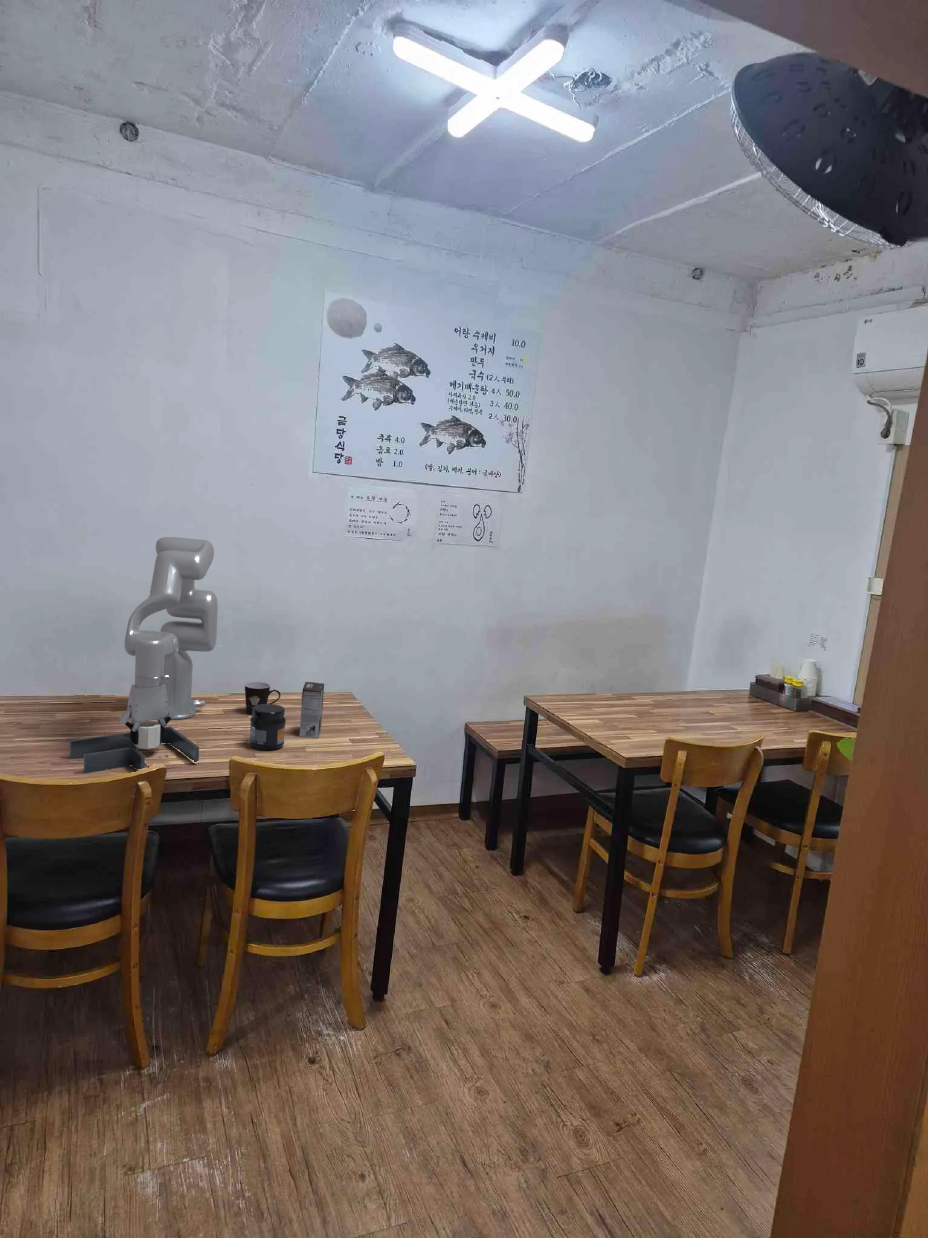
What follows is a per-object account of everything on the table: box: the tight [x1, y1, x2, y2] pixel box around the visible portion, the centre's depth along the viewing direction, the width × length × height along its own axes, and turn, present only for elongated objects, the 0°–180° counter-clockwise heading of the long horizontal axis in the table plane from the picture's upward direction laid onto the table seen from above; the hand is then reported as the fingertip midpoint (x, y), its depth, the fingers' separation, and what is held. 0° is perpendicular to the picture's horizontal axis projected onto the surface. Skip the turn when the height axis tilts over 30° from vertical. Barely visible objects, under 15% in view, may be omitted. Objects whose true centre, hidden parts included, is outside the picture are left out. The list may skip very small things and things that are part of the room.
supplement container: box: [248, 703, 287, 751], centre depth 236 cm, size 10×10×12 cm
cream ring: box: [134, 720, 161, 750], centre depth 219 cm, size 6×6×6 cm
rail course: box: [69, 726, 200, 774], centre depth 214 cm, size 28×20×5 cm
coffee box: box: [299, 681, 325, 739], centre depth 251 cm, size 9×6×16 cm
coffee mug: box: [244, 681, 281, 716], centre depth 265 cm, size 12×9×10 cm
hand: (147, 740), depth 220 cm, fingers closed on cream ring, 6 cm apart
